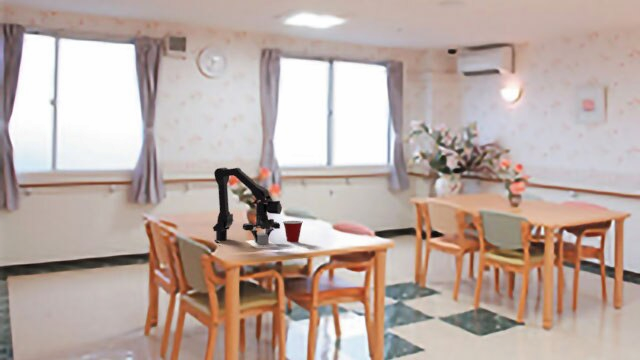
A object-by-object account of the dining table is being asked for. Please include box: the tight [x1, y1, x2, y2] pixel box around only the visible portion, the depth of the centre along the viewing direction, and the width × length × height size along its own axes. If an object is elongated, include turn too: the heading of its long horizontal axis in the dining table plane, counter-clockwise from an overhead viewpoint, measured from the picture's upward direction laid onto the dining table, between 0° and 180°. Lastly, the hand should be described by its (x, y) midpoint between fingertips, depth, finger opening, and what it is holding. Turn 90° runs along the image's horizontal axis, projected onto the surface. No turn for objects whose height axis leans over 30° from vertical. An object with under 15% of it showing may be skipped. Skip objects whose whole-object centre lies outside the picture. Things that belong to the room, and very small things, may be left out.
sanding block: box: [257, 232, 270, 245], centre depth 306 cm, size 8×5×4 cm, turn 24°
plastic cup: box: [282, 220, 304, 243], centre depth 314 cm, size 11×11×12 cm
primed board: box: [245, 239, 280, 249], centre depth 306 cm, size 20×12×1 cm, turn 24°
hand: (261, 242), depth 307 cm, fingers closed on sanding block, 5 cm apart
